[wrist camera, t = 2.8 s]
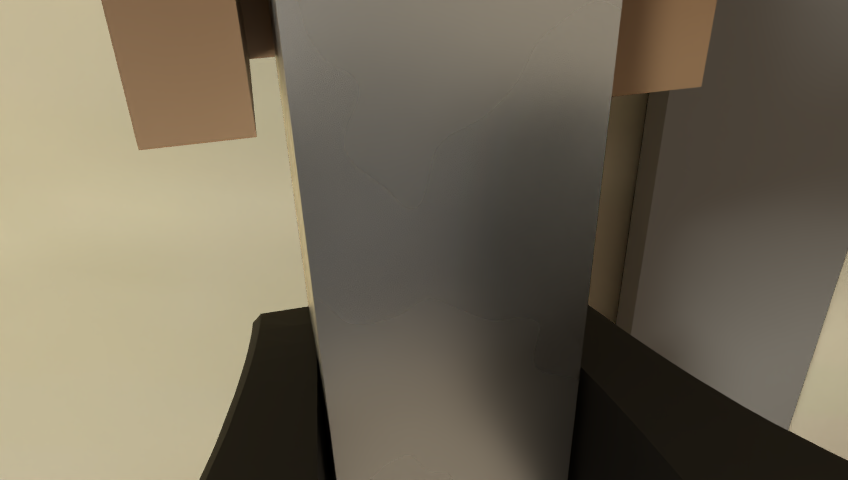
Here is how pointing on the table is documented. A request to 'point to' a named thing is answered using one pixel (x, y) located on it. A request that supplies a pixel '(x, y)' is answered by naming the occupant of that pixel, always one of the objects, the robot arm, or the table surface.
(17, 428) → the table surface
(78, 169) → the table surface
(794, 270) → the gray bar
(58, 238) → the table surface
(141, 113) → the cradle posts
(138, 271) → the table surface
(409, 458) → the rail
